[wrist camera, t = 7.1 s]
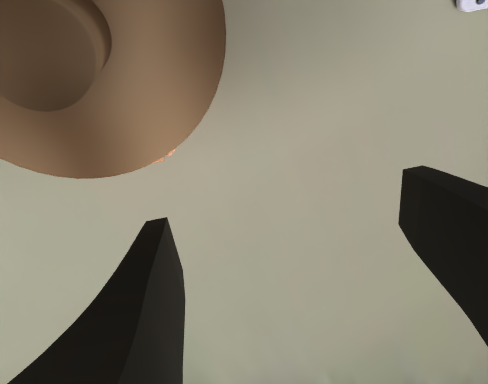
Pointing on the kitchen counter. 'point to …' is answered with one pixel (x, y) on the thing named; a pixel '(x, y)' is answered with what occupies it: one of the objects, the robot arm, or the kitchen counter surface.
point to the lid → (104, 81)
